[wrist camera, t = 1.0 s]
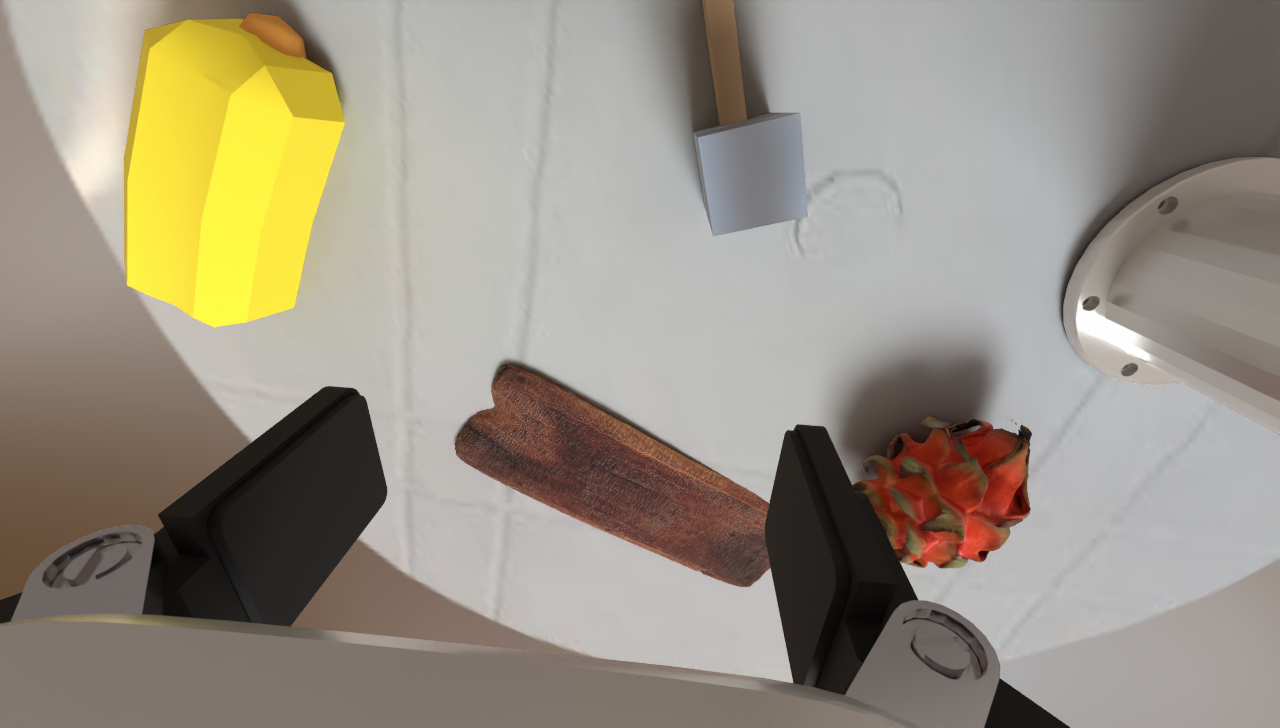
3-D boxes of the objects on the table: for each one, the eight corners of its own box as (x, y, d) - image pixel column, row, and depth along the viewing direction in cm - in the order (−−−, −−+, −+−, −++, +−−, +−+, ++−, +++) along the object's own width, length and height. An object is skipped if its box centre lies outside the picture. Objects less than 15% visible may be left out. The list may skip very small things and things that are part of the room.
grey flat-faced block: (747, -114, 22) (776, -206, 15) (777, 192, 27) (807, 216, 21) (657, -85, 22) (650, -163, 16) (705, 208, 28) (713, 236, 22)
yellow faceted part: (183, 275, 32) (300, 334, 33) (70, 313, 26) (218, 382, 27) (229, -25, 24) (377, 67, 26) (85, -69, 18) (287, 54, 20)
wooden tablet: (820, 535, 37) (740, 619, 40) (810, 516, 39) (735, 597, 42) (502, 355, 32) (438, 467, 35) (510, 345, 34) (450, 451, 37)
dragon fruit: (821, 486, 38) (953, 380, 35) (908, 583, 35) (1058, 476, 32) (813, 505, 30) (981, 371, 27) (924, 631, 27) (1124, 497, 25)
